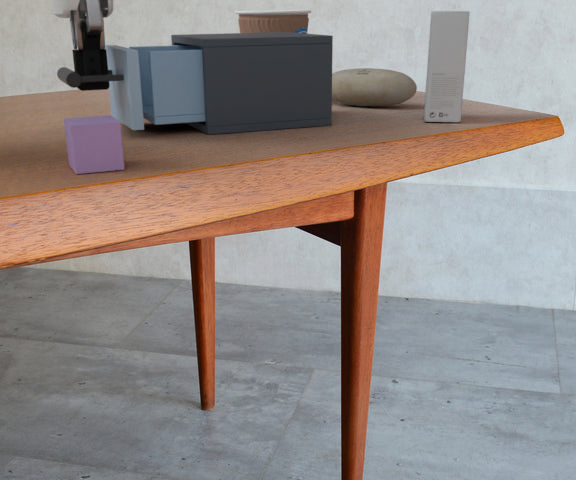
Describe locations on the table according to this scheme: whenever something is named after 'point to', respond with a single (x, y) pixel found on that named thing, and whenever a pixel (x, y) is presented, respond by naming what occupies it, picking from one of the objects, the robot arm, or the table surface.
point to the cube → (94, 144)
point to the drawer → (151, 84)
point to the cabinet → (264, 80)
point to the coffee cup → (273, 21)
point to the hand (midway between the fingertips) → (93, 88)
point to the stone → (372, 87)
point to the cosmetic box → (446, 66)
